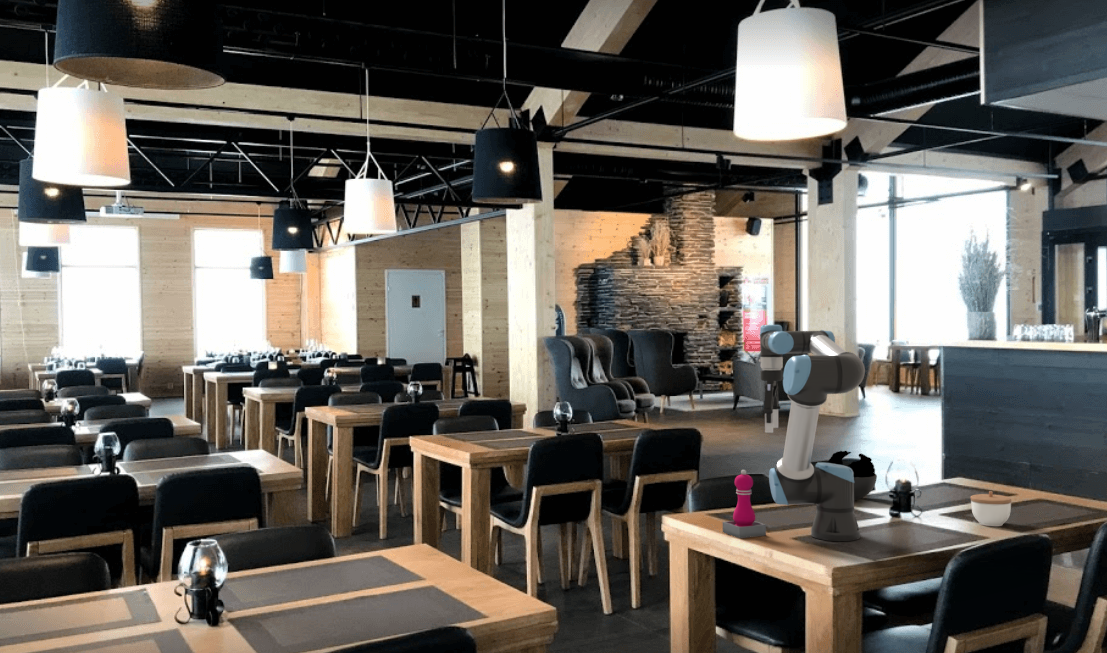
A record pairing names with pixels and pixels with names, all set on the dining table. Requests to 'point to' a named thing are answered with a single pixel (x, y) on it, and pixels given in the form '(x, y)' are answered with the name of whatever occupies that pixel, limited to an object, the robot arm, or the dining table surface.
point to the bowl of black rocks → (858, 473)
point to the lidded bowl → (991, 508)
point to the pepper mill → (743, 501)
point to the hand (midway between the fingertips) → (771, 430)
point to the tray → (744, 529)
